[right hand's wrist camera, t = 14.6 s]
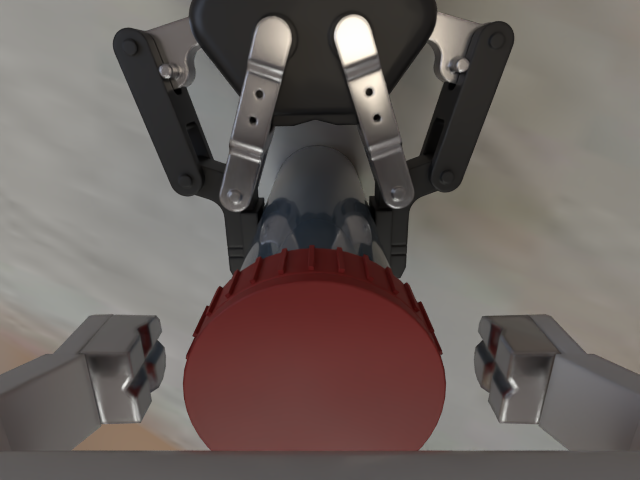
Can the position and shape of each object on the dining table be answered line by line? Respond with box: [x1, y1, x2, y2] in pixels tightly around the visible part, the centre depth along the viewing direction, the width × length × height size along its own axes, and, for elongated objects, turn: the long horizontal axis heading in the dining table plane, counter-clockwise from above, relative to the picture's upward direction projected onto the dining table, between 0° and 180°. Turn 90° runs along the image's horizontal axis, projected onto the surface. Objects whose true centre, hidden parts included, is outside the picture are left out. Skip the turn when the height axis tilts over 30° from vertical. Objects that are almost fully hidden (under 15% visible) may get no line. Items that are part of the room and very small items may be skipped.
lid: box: [183, 245, 446, 451], centre depth 9 cm, size 5×5×2 cm
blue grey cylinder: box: [240, 146, 394, 275], centre depth 17 cm, size 5×5×16 cm
